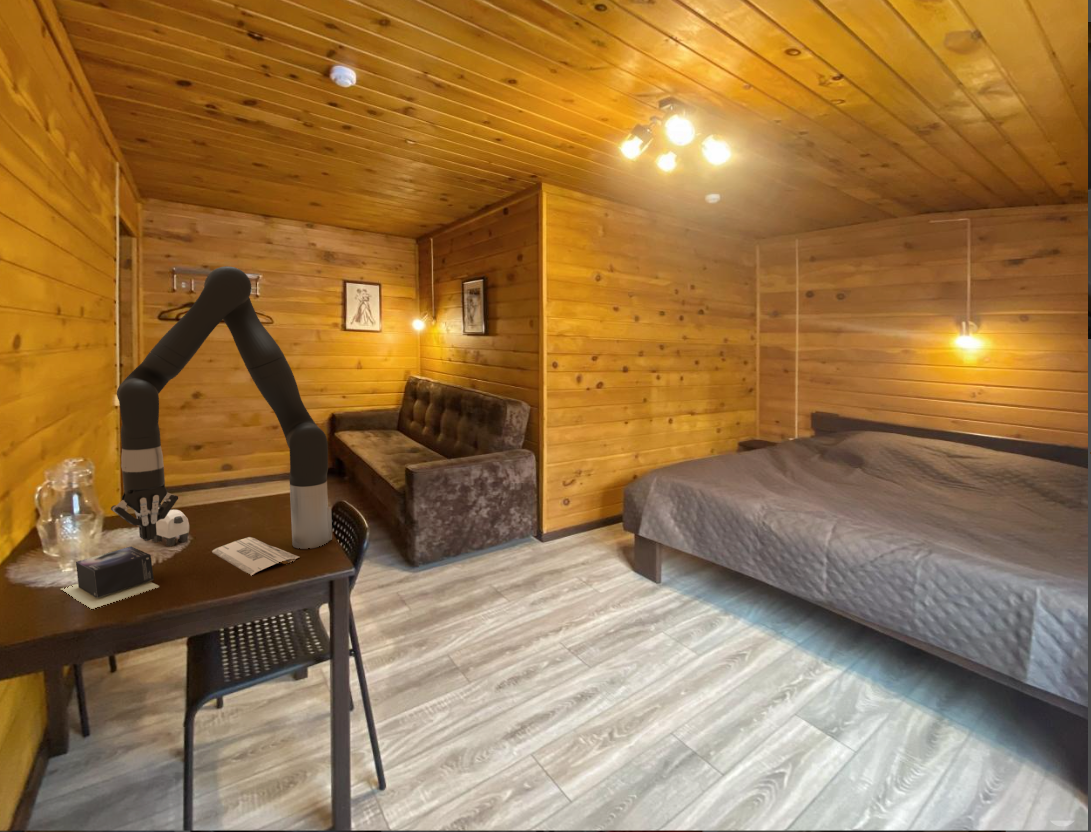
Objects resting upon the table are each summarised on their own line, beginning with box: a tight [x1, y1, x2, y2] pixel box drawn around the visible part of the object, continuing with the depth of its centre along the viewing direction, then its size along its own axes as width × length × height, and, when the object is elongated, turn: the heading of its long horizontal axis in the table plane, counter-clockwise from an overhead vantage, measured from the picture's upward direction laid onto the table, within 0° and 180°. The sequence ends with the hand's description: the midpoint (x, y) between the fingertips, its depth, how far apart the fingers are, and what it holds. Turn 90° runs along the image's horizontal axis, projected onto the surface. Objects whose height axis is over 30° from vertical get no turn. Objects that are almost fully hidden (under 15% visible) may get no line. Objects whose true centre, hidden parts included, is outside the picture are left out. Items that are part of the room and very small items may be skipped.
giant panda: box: [151, 503, 190, 547], centre depth 143 cm, size 15×6×10 cm, turn 65°
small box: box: [75, 546, 155, 598], centre depth 116 cm, size 11×6×10 cm
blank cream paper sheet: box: [60, 581, 160, 610], centre depth 115 cm, size 12×16×1 cm
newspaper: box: [211, 536, 299, 577], centre depth 134 cm, size 23×12×2 cm, turn 54°
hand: (148, 539), depth 121 cm, fingers closed
